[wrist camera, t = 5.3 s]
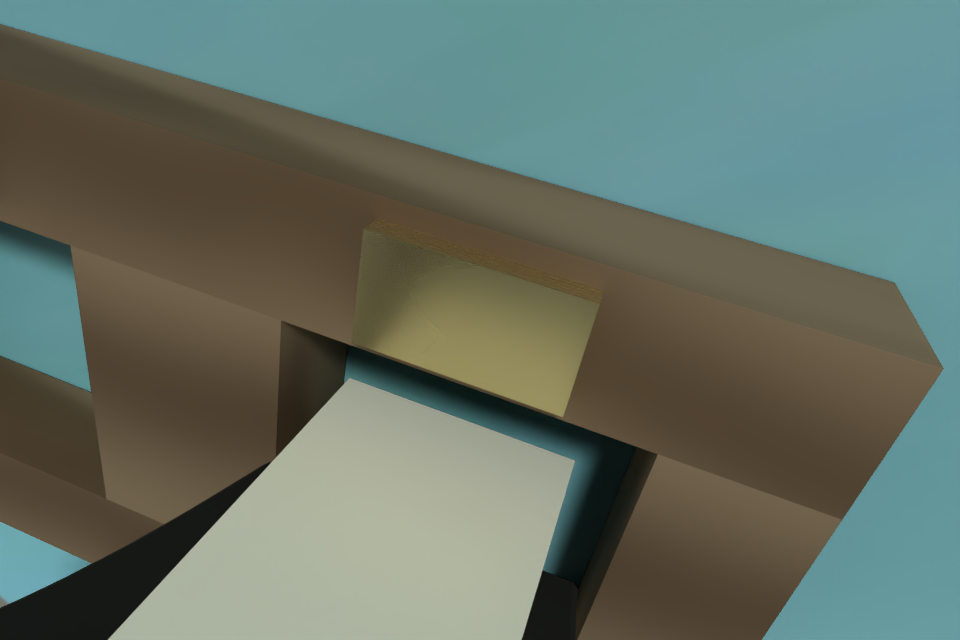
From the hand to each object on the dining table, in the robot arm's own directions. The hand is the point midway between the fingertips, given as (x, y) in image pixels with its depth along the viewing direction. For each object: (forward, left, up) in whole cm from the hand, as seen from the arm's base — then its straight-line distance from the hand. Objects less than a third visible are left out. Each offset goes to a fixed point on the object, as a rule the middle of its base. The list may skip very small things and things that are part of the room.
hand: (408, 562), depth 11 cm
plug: (0, 0, -2) cm, 2 cm away
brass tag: (+4, 0, -1) cm, 4 cm away
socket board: (0, +5, -3) cm, 6 cm away
